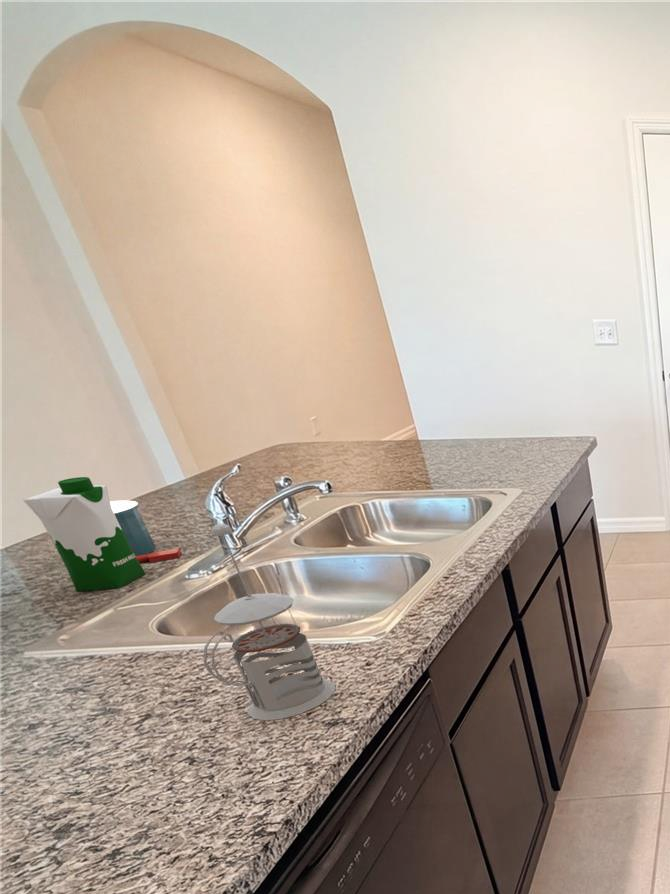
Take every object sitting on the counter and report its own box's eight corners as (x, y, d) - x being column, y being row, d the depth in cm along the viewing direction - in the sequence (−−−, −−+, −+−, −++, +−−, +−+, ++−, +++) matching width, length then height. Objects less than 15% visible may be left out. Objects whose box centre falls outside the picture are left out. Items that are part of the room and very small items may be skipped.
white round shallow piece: (51, 531, 125) (39, 508, 123) (45, 517, 133) (33, 495, 131) (145, 513, 135) (135, 492, 133) (134, 501, 143) (124, 481, 141)
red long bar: (76, 575, 128) (73, 569, 128) (80, 570, 131) (77, 564, 130) (179, 557, 136) (176, 551, 136) (181, 553, 139) (178, 547, 138)
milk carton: (122, 589, 122) (69, 485, 113) (66, 594, 120) (7, 489, 112) (154, 571, 130) (107, 472, 121) (101, 575, 128) (49, 476, 120)
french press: (351, 687, 91) (287, 516, 80) (261, 735, 81) (174, 549, 70) (307, 673, 94) (240, 507, 83) (215, 717, 85) (126, 537, 74)
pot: (79, 575, 128) (55, 530, 124) (69, 554, 139) (46, 512, 135) (163, 556, 137) (143, 513, 133) (147, 538, 147) (128, 497, 143)
